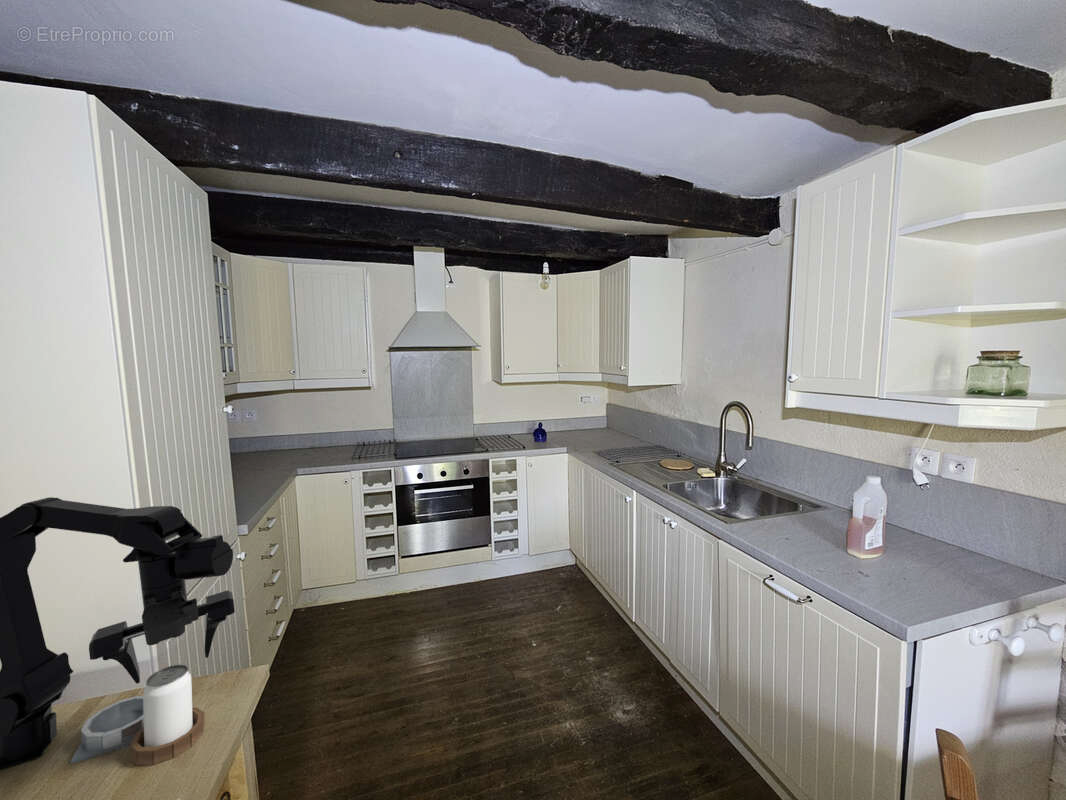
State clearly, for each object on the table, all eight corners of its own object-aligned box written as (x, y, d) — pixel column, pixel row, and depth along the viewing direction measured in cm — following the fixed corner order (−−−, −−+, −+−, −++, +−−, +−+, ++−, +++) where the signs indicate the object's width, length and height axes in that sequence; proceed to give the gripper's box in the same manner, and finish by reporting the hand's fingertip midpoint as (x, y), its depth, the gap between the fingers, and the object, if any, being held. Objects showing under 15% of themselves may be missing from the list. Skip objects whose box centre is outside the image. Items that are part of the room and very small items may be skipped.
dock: (70, 764, 71) (70, 746, 71) (92, 723, 79) (92, 707, 79) (150, 738, 76) (149, 722, 76) (163, 702, 85) (162, 688, 84)
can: (135, 761, 71) (133, 690, 71) (158, 731, 78) (156, 666, 77) (181, 752, 73) (179, 683, 73) (199, 723, 79) (198, 660, 79)
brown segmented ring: (124, 775, 69) (123, 760, 69) (140, 733, 77) (140, 720, 77) (199, 749, 74) (199, 735, 74) (207, 712, 82) (206, 700, 82)
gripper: (75, 621, 62) (89, 725, 63) (231, 577, 74) (242, 665, 74) (90, 595, 71) (102, 687, 72) (227, 559, 83) (236, 638, 83)
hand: (173, 669), depth 75 cm, fingers open, 9 cm apart
